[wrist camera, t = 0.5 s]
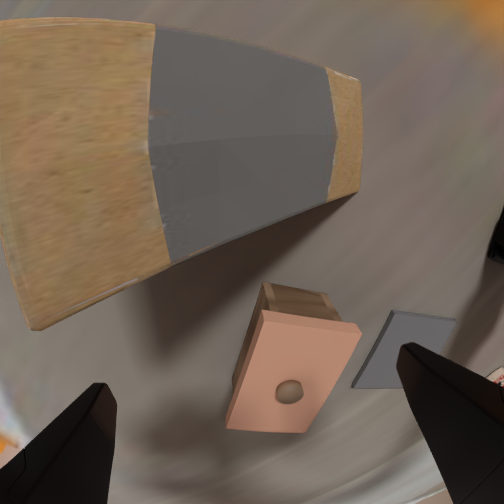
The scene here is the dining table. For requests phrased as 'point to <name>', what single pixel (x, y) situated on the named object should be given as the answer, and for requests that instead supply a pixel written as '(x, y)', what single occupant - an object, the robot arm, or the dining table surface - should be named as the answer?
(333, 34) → the dining table surface
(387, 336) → the coaster
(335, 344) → the lid
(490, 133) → the dining table surface
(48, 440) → the robot arm
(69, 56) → the sandwich container
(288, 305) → the tea box
